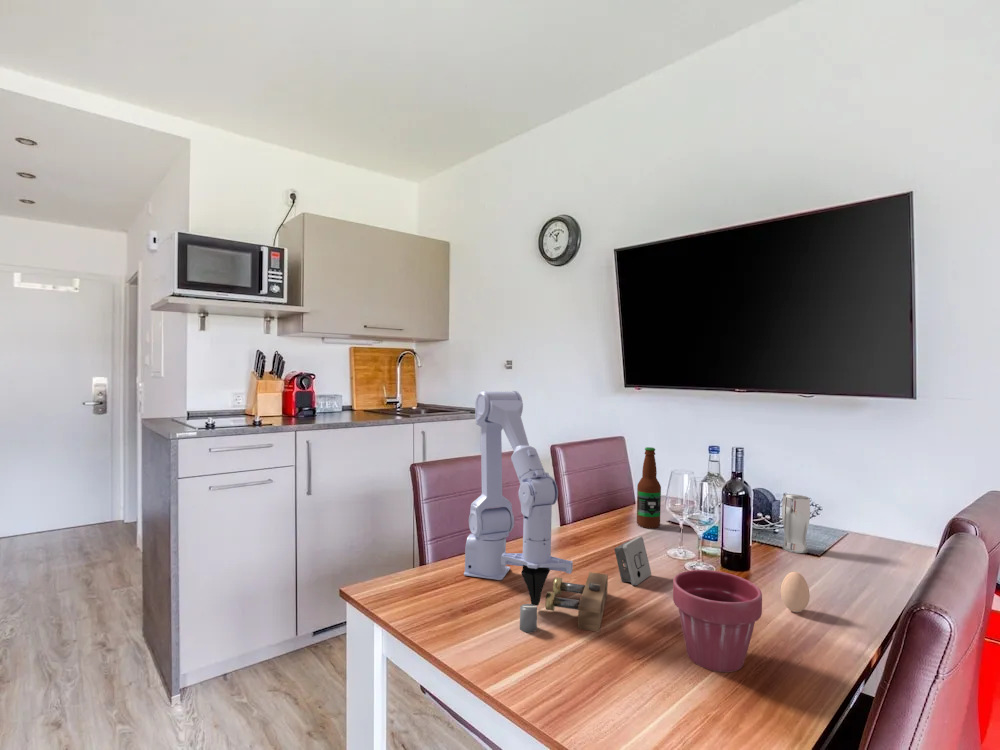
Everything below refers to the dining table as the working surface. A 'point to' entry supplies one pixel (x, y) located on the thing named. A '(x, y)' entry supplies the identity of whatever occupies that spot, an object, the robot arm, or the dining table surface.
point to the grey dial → (528, 618)
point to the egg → (795, 592)
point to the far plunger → (566, 587)
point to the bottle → (649, 493)
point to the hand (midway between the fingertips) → (535, 603)
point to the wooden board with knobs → (593, 602)
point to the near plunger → (560, 602)
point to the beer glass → (795, 522)
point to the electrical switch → (633, 561)
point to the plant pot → (716, 617)
